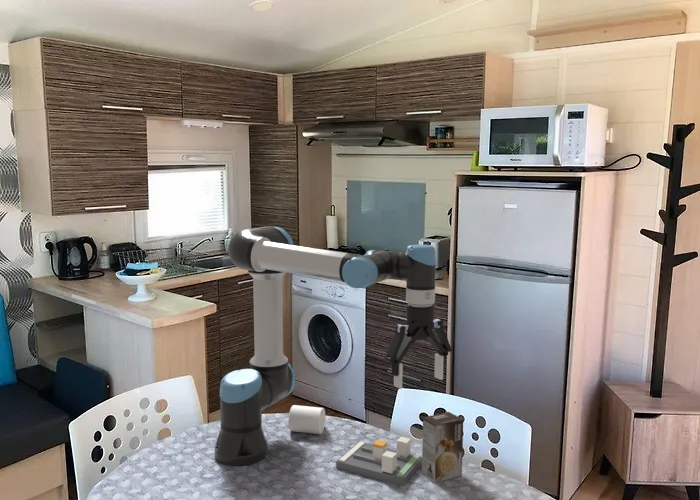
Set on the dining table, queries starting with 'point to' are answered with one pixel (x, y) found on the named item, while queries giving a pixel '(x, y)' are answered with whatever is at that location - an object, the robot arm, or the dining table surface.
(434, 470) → the brown tall rectangular box
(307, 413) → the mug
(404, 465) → the panel
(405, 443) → the block
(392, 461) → the block
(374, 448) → the block
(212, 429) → the dining table surface
